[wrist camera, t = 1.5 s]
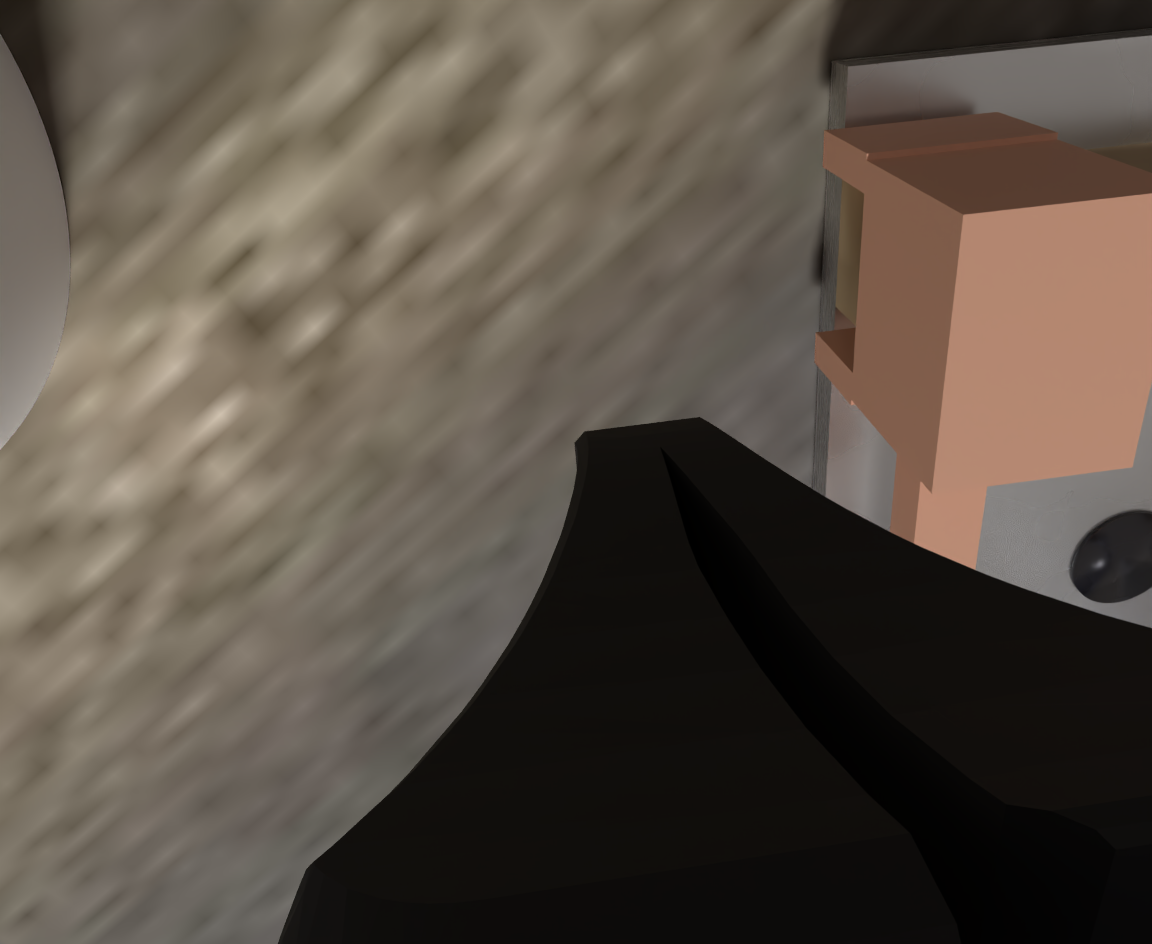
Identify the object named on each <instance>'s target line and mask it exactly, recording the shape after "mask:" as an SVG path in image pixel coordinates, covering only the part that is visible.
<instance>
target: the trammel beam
mask: <svg viewBox="0 0 1152 944" xmlns="http://www.w3.org/2000/svg"><path fill="white" fill-rule="evenodd" d="M1087 150H1088V151H1091V152H1094V153H1097V154H1100V155H1103V156H1105V157H1108V158H1111V159H1114V160H1117V161H1119V162H1122V163H1125V164H1128V165H1131V166H1134V167H1136V168H1139V169H1142V170H1145V171H1148V172H1150V173H1152V142H1150V143H1141V144H1132V145H1123V146H1114V147H1105V148H1096V149H1087ZM863 206H864V193H863V192H861V191H859V190H858V189H856V188H855V187H853V186H852V185H850V184H849V183H847V182H845V181H844V180H842V192H841V211H840V230H839V250H838V269H837V288H836V308H838V309H839V310H840V311H841V312H842V313H843V314H844V315H845V316H846V317H847V318H848V319H849V320H850V321H851V322H852V323H853V324H854V325H855V326H856V317H857V301H858V285H859V269H860V253H861V238H862V222H863Z"/></svg>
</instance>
